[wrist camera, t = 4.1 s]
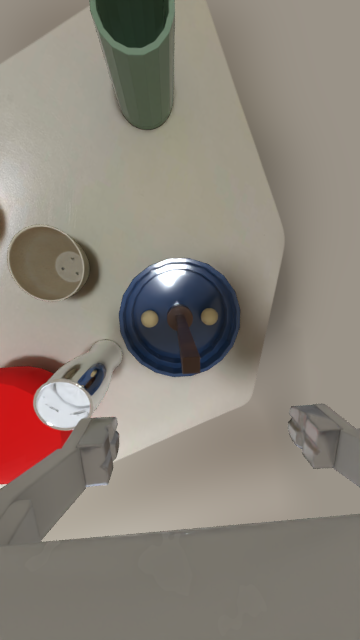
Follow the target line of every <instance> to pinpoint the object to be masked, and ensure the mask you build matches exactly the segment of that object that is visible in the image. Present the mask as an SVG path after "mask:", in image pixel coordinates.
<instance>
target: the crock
mask: <svg viewBox="0 0 360 640" xmlns="http://www.w3.org/2000/svg"><path fill="white" fill-rule="evenodd" d="M89 2H90V11H91V15H92V18H93V22H94V25H95V28H96V32H97V35H98V39H99V42H100V45H101V49H102V52H103V55H104V59H105V62H106V65H107V69H108V72H109V75H110V79H111V82H112V85H113V89H114V92H115V95H116V99H117V101H118V104H119V107H120V110H121V112H122V114H123V115H124V117H125V118H126V119H127V120H128V121H129V122H130V123H131V124H132V125H134V126H136V127H138V128H140V129H146V130H149V129H154V128H157V127H159V126H160V125H162V124H163V123H164V122H165V121H166V119H167V118H168V116H169V114H170V112H171V109H172V105H173V94H174V35H175V0H89Z"/></svg>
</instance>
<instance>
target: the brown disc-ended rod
mask: <svg viewBox="0 0 360 640" xmlns="http://www.w3.org/2000/svg"><path fill="white" fill-rule="evenodd" d="M192 321H193V315H192V313H191V311H190V310H189V308H188V307H187V306H185V305H182V304H177V305H174V306H172V307H171V308H170V309H169V311H168V313H167V322H168V325H169V326H170V327H171V328H172V329H173V330H175V331H177V334H178V342H179V350H180V357H181V365H182V373H183V374H194V373H200V355H199V353H198V350H197V348H196V345H195V342H194V340H193V337H192V335H191V332H190V329H189V327H190V326H191V324H192Z"/></svg>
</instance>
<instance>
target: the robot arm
mask: <svg viewBox="0 0 360 640" xmlns="http://www.w3.org/2000/svg"><path fill="white" fill-rule="evenodd" d="M289 414H290V416H291V417H292V418H291V420H290V421H289V422H288V431H289V435H290V437H291V439H292V441H293V442H294V444H295V445H296V446H298V447H299V448H301V449H302V451H303V452H302V454H303V455H304V457H305V458H306V459H307V461H308V462H309V463H310V465H311V466H312V467H313V469H320V468H334V469H335V470H336V471H338V472H339V473H341V474H342V475H343V476H345V477H346V478H347V479H349V480H350V481H352V482H353V483H354V484H356V485H357V486H359V487H360V429H356V428H355V427H354V426H352V425H351V424H350V423H348V422H347V421H346V420H345V419H343V418H342V417H341V416H340V415H338V414H337V413H336V412H335V411H333V410H332V409H331V408H330V407H328V406H327V405H325V404H313V405H305V406H292V407H291V408H290V411H289ZM117 425H118V423H117V418H116V417H101V418H82V419H81V420H80V421H79V422H78V424H77V425H76V427H75V428H74V430H73V431H72V433H71V434H70V436H69V437H68V439H67V441H66V442H65V444H64V445H63V447H62V448H61V449H57V450H55V451H54V452H53V453H51V454H50V455H48V456H47V457H45V458H44V459H43V460H41V461H40V462H38V463H37V464H35V465H34V466H33V467H31V468H30V469H28V470H27V471H26V472H24V473H23V474H21V475H20V476H18V477H17V478H16V479H14V480H13V481H11V482H10V483H8V484H7V485H6V486H4V487H3V488H1V489H0V640H360V514H353V515H341V516H330V517H319V518H307V519H297V520H286V521H274V522H263V523H252V524H240V525H228V526H217V527H207V528H194V529H183V530H172V531H160V532H149V533H138V534H127V535H115V536H105V537H93V538H81V539H70V540H59V541H48V542H42V541H41V540H42V539H43V538H44V537H45V535H46V534H47V533H48V532H49V531H50V530H51V528H52V527H53V526H54V525H55V524H56V522H57V521H58V520H59V519H60V518H61V517H62V516H63V514H64V513H65V512H66V511H67V510H68V509H69V507H70V506H71V505H72V504H73V503H74V502H75V500H76V499H77V498H78V497H79V496H80V494H81V493H82V492H83V491H84V490H85V489H86V487H90V486H99V485H108V483H109V480H110V477H111V473H112V470H113V461H114V460H115V459H116V457H117V453H118V448H119V433H118V432H117V431H116V428H117Z"/></svg>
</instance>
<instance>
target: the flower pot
mask: <svg viewBox="0 0 360 640" xmlns="http://www.w3.org/2000/svg"><path fill="white" fill-rule="evenodd" d="M72 258H73V259H72ZM7 263H8V268H9V271H10V273H11V276H12V278H13V279H14V281H15V282H16V284H17V285H18V286H19V287H20V288H21V289H22V290H23V291H24V292H25V293H27V294H28V295H30V296H32V297H34V298H36V299H39V300H42V301H48V302H55V301H60V300H64V299H66V298H68V297H70V296H72V295H74V294H75V293H77V292H78V291H79V290H80V289H81V288H82V287H83V286H84V284H85V283H86V281H87V279H88V276H89V262H88V259H87V256H86V254H85V253H84V251H83V249H82V248H81V247H80V246H79V244H78V243H77V242H76V241H75V240H74V239H72V238H71V237H70V236H69V235H68V234H66V233H65V232H63V231H61V230H59V229H57V228H55V227H52V226H49V225H40V224H39V225H32V226H28V227H26V228H24V229H22V230H20V231H19V232H18V233H17V234H16V235H15V236H14V237H13V239H12V240H11V242H10V244H9V247H8V252H7ZM63 269H64V270H63ZM77 272H78V273H79V274H78V273H77Z"/></svg>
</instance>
